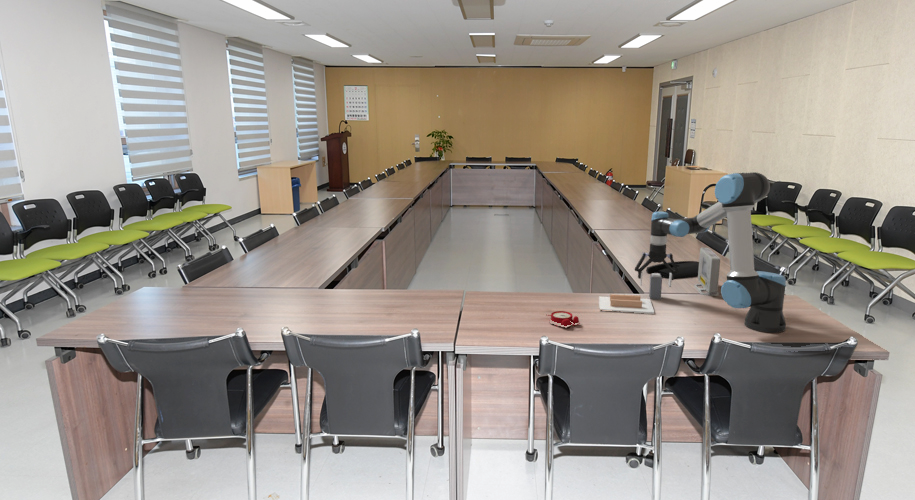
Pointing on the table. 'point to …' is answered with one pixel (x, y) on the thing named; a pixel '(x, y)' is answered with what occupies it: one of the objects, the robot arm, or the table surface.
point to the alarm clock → (564, 318)
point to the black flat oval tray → (684, 268)
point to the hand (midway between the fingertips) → (655, 285)
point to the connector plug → (655, 286)
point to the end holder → (626, 304)
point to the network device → (708, 272)
